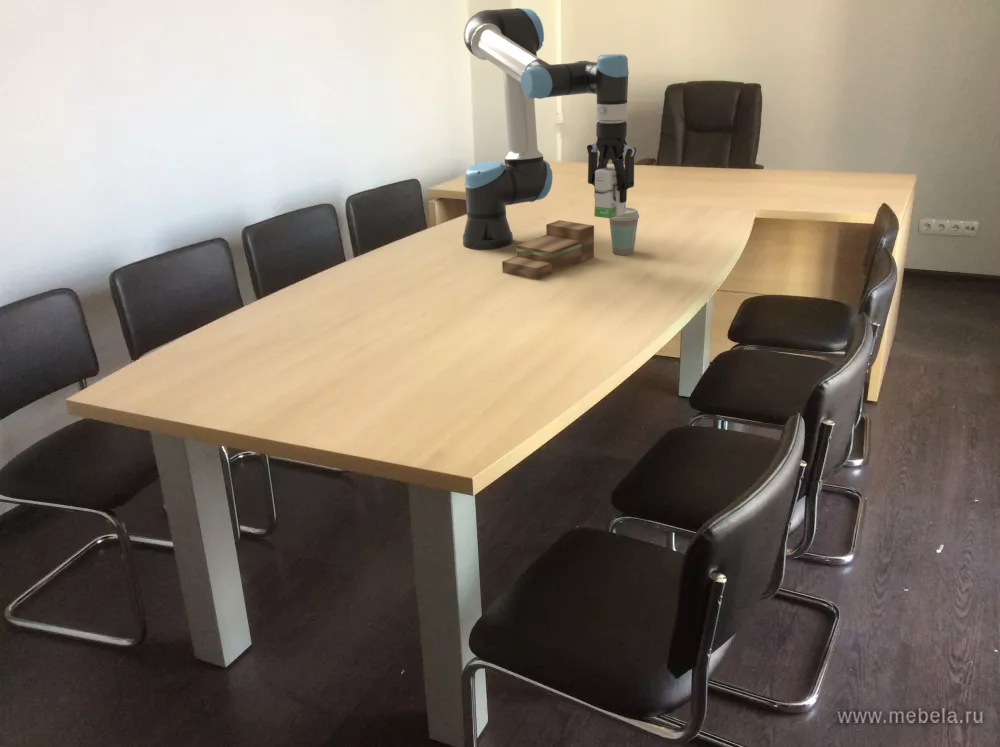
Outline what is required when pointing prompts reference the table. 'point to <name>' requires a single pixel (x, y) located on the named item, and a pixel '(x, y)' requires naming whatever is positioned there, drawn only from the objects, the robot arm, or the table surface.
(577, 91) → the robot arm
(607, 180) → the ink box
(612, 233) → the coffee cup
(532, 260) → the stand
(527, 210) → the table surface
